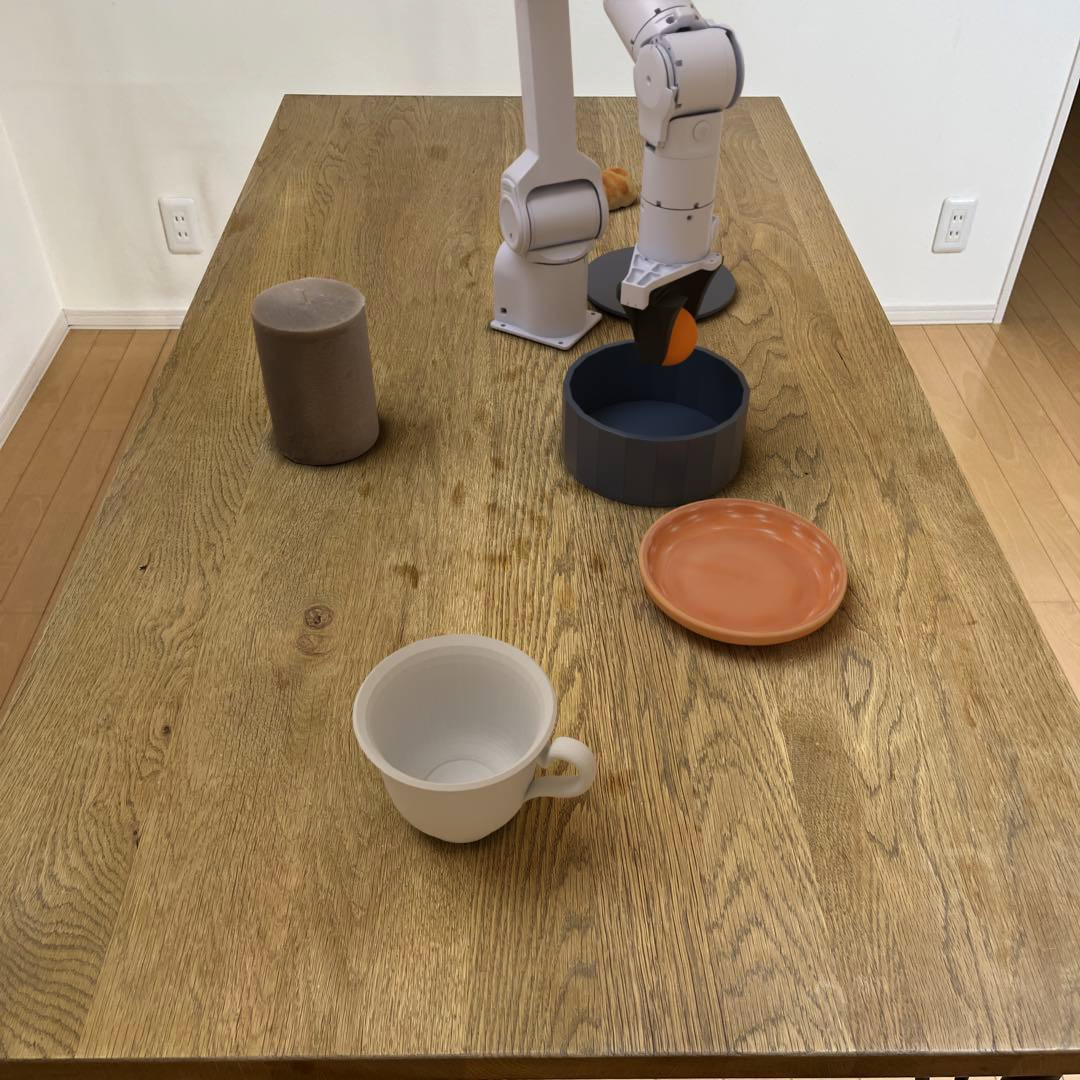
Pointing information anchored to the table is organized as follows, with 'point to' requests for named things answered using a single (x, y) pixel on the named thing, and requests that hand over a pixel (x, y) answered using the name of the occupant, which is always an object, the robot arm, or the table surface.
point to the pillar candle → (316, 369)
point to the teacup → (464, 734)
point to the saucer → (742, 571)
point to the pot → (653, 425)
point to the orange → (681, 339)
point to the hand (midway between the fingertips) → (664, 347)
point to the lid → (616, 267)
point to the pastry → (618, 187)
